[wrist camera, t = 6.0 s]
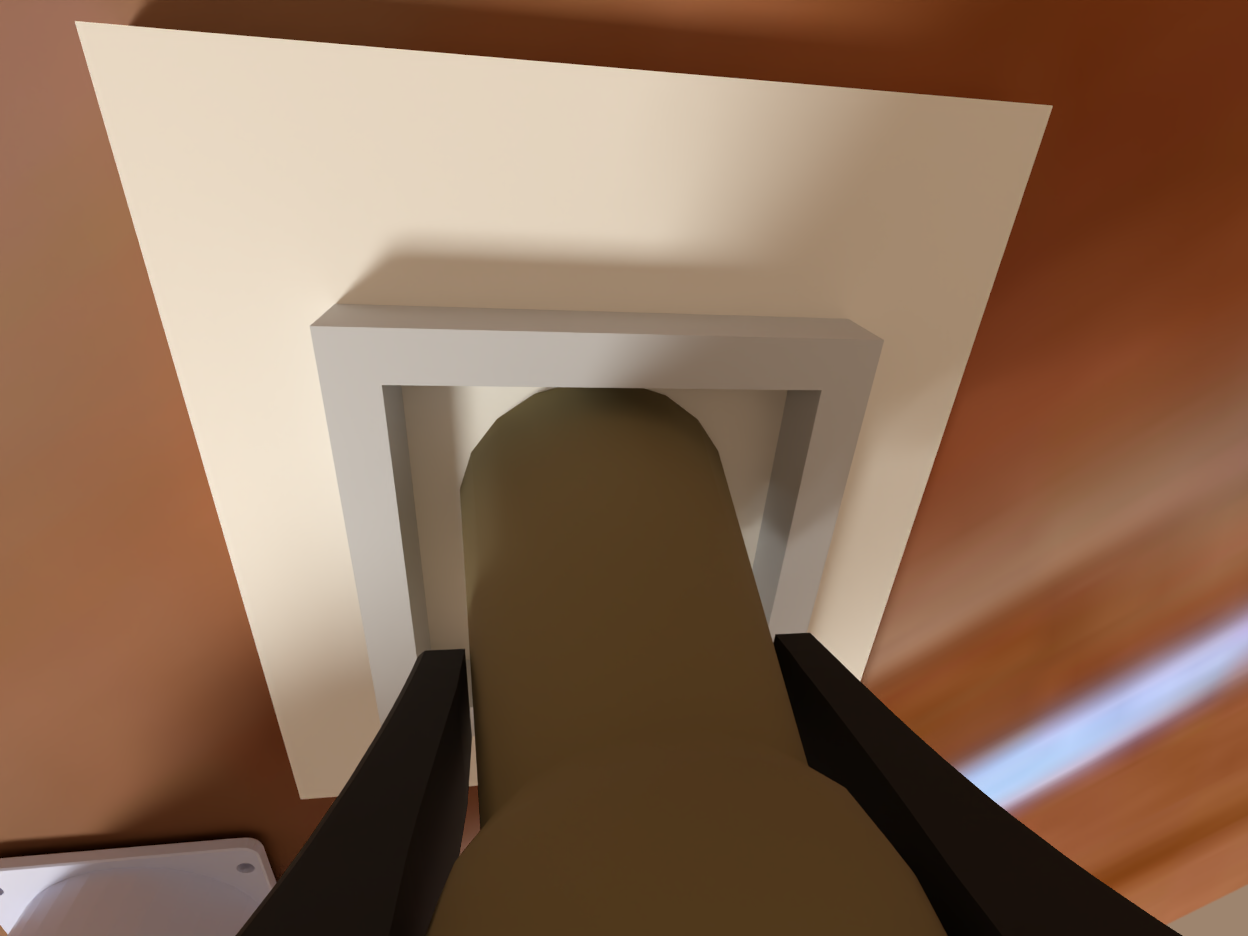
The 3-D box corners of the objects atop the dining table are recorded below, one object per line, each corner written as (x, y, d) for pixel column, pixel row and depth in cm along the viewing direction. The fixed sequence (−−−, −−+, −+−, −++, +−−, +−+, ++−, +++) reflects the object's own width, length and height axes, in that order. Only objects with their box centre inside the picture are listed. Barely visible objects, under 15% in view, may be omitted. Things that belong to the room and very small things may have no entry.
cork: (723, 360, 13) (1286, 1035, 3) (727, 587, 16) (1029, 1291, 6) (429, 401, 12) (87, 1304, 3) (489, 625, 15) (419, 1444, 6)
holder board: (819, 726, 21) (856, 802, 18) (313, 761, 19) (281, 853, 16) (1008, 108, 12) (1121, 102, 10) (122, 32, 10) (-3, 2, 8)
